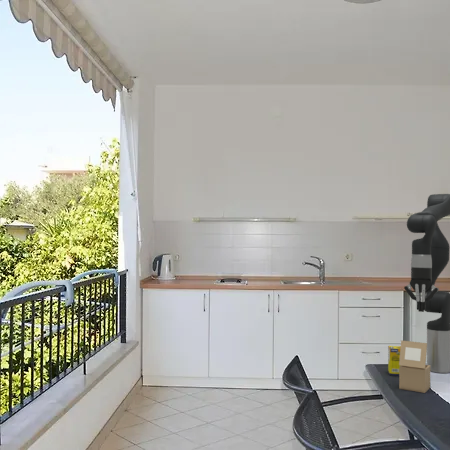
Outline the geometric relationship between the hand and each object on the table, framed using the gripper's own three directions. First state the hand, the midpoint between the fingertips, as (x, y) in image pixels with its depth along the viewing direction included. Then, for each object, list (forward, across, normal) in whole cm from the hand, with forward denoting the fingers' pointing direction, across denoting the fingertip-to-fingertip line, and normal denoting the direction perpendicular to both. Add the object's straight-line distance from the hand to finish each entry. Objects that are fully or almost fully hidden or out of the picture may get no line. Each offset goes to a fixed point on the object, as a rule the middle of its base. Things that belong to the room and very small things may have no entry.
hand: (421, 311), depth 201 cm
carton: (+27, 0, +10) cm, 29 cm away
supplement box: (+27, +11, -7) cm, 30 cm away
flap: (+14, 0, +13) cm, 19 cm away
